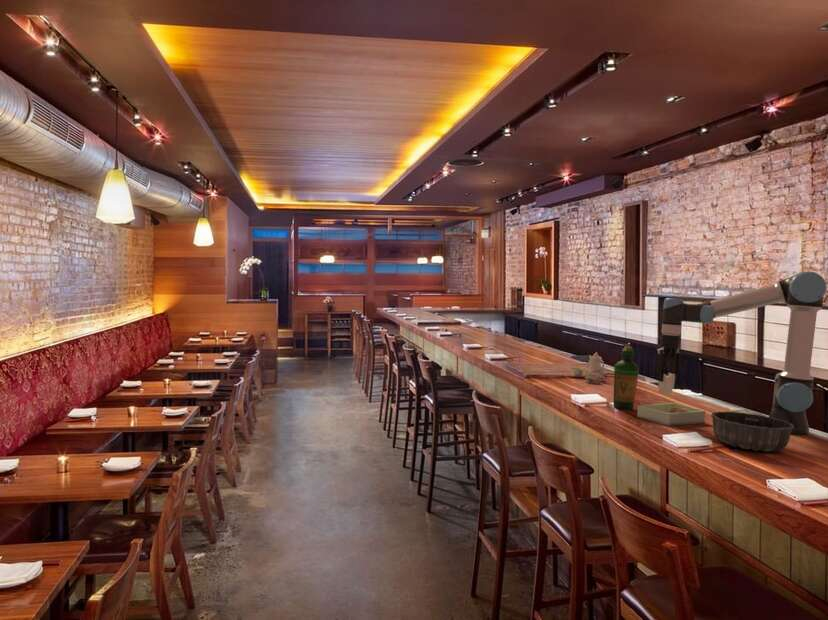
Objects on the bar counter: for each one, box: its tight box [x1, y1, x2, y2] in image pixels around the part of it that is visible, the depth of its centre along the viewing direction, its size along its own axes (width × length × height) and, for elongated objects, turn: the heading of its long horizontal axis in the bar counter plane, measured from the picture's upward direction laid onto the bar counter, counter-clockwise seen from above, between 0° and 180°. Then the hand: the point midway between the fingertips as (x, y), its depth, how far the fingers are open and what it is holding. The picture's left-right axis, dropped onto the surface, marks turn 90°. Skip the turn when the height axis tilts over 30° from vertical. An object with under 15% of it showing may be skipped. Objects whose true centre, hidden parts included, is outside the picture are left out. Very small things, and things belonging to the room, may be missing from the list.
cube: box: [669, 407, 688, 413], centre depth 254 cm, size 5×5×5 cm
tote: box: [636, 402, 706, 427], centre depth 257 cm, size 16×22×5 cm
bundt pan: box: [711, 411, 794, 453], centre depth 221 cm, size 26×26×10 cm
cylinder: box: [658, 375, 673, 395], centre depth 259 cm, size 5×5×7 cm
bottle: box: [613, 346, 640, 411], centre depth 275 cm, size 11×11×28 cm
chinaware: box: [570, 351, 605, 384], centre depth 352 cm, size 28×17×17 cm, turn 15°
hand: (666, 388), depth 259 cm, fingers closed on cylinder, 5 cm apart
